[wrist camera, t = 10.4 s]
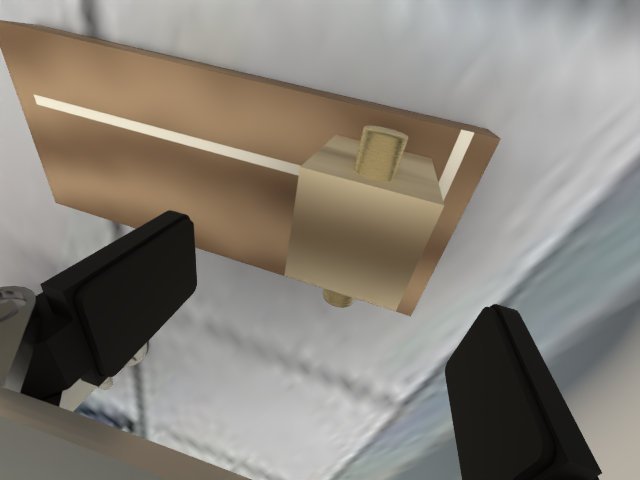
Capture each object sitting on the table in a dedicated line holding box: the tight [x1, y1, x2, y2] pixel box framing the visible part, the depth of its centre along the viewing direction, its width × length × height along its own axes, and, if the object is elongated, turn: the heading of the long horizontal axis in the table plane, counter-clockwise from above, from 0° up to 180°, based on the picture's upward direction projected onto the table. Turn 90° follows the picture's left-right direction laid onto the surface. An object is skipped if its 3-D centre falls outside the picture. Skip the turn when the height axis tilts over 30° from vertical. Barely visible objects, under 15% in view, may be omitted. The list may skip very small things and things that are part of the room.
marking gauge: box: [284, 126, 444, 311], centre depth 14 cm, size 8×5×6 cm, turn 169°
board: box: [0, 20, 500, 316], centre depth 19 cm, size 12×29×3 cm, turn 79°
